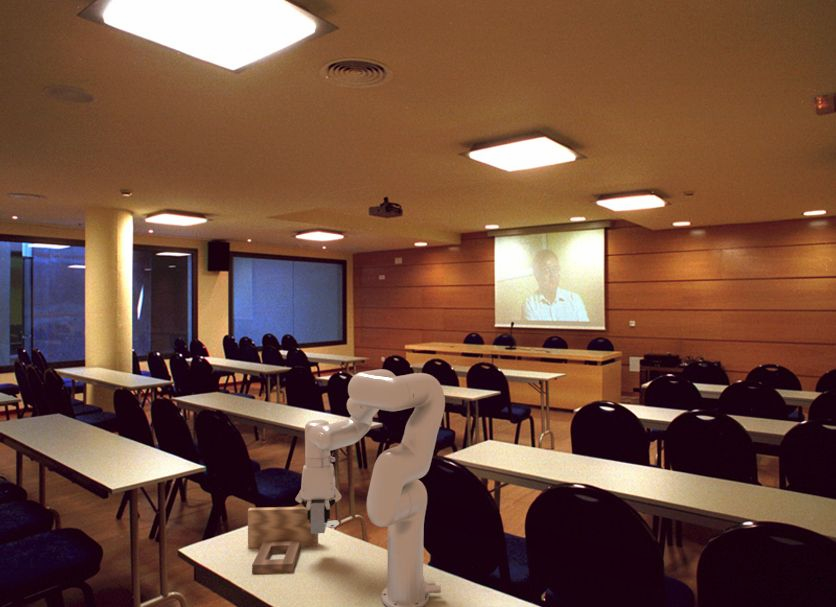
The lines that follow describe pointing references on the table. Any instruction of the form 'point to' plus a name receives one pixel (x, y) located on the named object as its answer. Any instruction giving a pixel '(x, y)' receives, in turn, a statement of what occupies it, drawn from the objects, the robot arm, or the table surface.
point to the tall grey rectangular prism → (318, 516)
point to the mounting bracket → (332, 523)
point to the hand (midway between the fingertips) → (318, 520)
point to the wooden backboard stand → (278, 537)
